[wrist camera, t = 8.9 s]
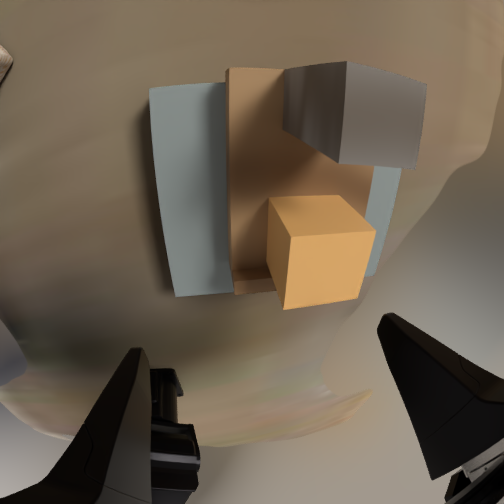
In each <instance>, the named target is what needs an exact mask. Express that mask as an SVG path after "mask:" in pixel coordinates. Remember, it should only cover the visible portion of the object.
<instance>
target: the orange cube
mask: <svg viewBox="0 0 504 504" xmlns="http://www.w3.org/2000/svg"><path fill="white" fill-rule="evenodd" d="M375 234H376V230H375V229H374V228H373V227H372V226H371V225H370V224H369V223H368V222H367V221H366V220H365V219H364V218H363V217H362V216H361V215H360V214H359V213H358V212H357V211H356V210H355V209H354V208H352V207H351V206H350V205H349V204H348V203H347V202H346V201H345V200H344V199H343V198H342V197H341V196H340V195H321V196H290V197H269V205H268V232H267V257H266V262H267V265H268V267H269V270H270V273H271V276H272V279H273V281H274V284H275V287H276V290H277V293H278V296H279V298H280V301H281V304H282V307H283V310H286V309H293V308H300V307H307V306H313V305H320V304H326V303H332V302H338V301H344V300H350V299H356V298H357V297H358V294H359V291H360V288H361V284H362V281H363V278H364V275H365V271H366V268H367V264H368V261H369V257H370V253H371V250H372V246H373V242H374V238H375Z"/></svg>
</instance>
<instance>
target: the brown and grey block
mask: <svg viewBox="0 0 504 504" xmlns="http://www.w3.org/2000/svg"><path fill="white" fill-rule="evenodd" d="M426 90H427V84H425V83H422V82H419V81H417V80H414V79H411V78H408V77H405V76H402V75H398V74H395V73H392V72H388V71H385V70H381V69H378V68H374V67H370V66H366V65H362V64H357V63H353V62H348V61H344V62H334V63H325V64H317V65H309V66H303V67H296V68H291V69H285V70H284V69H268V68H229V69H227V70H226V180H227V219H228V248H229V265H230V271H231V277H232V282H233V288H234V294H235V295H238V294H249V293H258V292H268V291H277V290H276V287H275V284H274V281H273V279H272V276H271V273H270V270H269V267H268V265H267V262H266V257H267V232H268V205H269V197H290V196H321V195H340V196H341V197H342V198H343V199H344V200H345V201H346V202H347V203H348V204H349V205H350V206H351V207H352V208H354V209H355V210H356V211H357V212H358V213H359V214H360V215H361V216H362V217H363V218H364V219H365V214H366V209H367V204H368V199H369V194H370V189H371V183H372V178H373V172H374V166H381V167H392V168H403V169H412V170H415V168H416V163H417V158H418V152H419V146H420V140H421V134H422V126H423V119H424V110H425V101H426Z"/></svg>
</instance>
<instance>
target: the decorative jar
mask: <svg viewBox="0 0 504 504" xmlns="http://www.w3.org/2000/svg"><path fill="white" fill-rule="evenodd" d="M12 62H13V58H12V57H11V56H10V55H9V53H8V52H7V51H6V50H5V49H4V48H3V47H2V46H1V45H0V82H1V80H2V79H3V77H4V75H5V73H6V72H7V70H8V69H9V67H10V65H11V64H12Z"/></svg>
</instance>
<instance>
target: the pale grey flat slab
mask: <svg viewBox="0 0 504 504" xmlns="http://www.w3.org/2000/svg"><path fill="white" fill-rule="evenodd" d="M149 99H150V117H151V132H152V144H153V155H154V165H155V174H156V183H157V191H158V198H159V206H160V213H161V219H162V226H163V232H164V238H165V244H166V250H167V256H168V261H169V266H170V272H171V277H172V282H173V287H174V291H175V296H176V297H180V296H194V295H206V294H218V293H229V292H234V288H233V282H232V277H231V271H230V265H229V248H228V219H227V180H226V82H223V83H200V84H186V85H175V86H166V87H158V88H150V89H149ZM401 170H402V168H392V167H381V166H374V172H373V178H372V183H371V189H370V194H369V199H368V204H367V209H366V214H365V220H366V221H367V222H368V223H369V224H370V225H371V226H372V227H373V228H374V229H375V230H376V234H375V238H374V242H373V246H372V250H371V253H370V257H369V261H368V264H367V268H366V271H365V275H364V277H367V276H374V274H375V271H376V268H377V264H378V261H379V258H380V255H381V251H382V248H383V245H384V241H385V238H386V234H387V230H388V227H389V223H390V219H391V215H392V211H393V207H394V203H395V198H396V194H397V189H398V185H399V180H400V175H401Z"/></svg>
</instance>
